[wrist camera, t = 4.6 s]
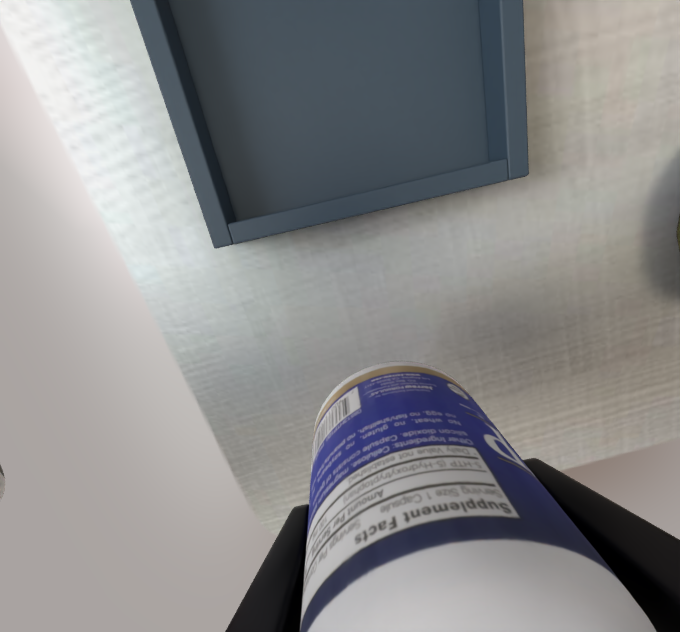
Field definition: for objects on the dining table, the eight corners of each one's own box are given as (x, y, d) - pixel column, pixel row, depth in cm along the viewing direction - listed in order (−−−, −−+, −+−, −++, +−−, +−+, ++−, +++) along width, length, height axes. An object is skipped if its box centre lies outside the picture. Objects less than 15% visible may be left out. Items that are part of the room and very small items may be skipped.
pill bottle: (490, 463, 11) (1069, 1344, 2) (348, 511, 11) (413, 1409, 3) (448, 329, 9) (1693, 1496, 1) (285, 391, 10) (0, 1594, 1)
